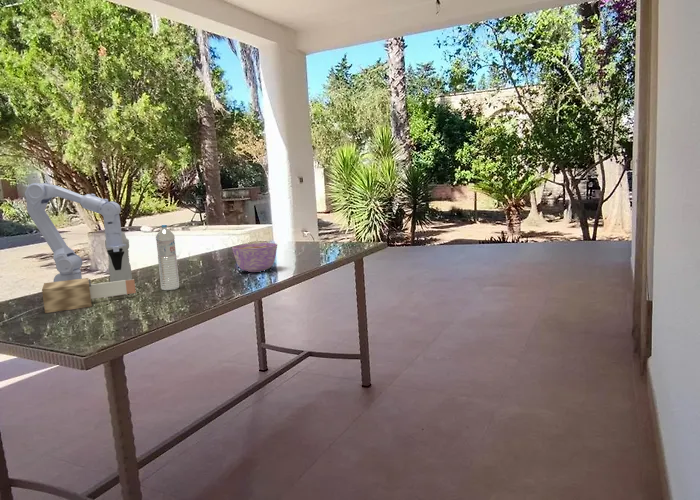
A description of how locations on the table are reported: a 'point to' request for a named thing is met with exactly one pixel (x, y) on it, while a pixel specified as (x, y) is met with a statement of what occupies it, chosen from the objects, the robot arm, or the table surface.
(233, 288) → the table surface
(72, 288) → the ticket box
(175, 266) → the water bottle
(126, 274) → the tall pale column
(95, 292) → the ticket
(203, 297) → the table surface
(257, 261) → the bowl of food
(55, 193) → the robot arm
